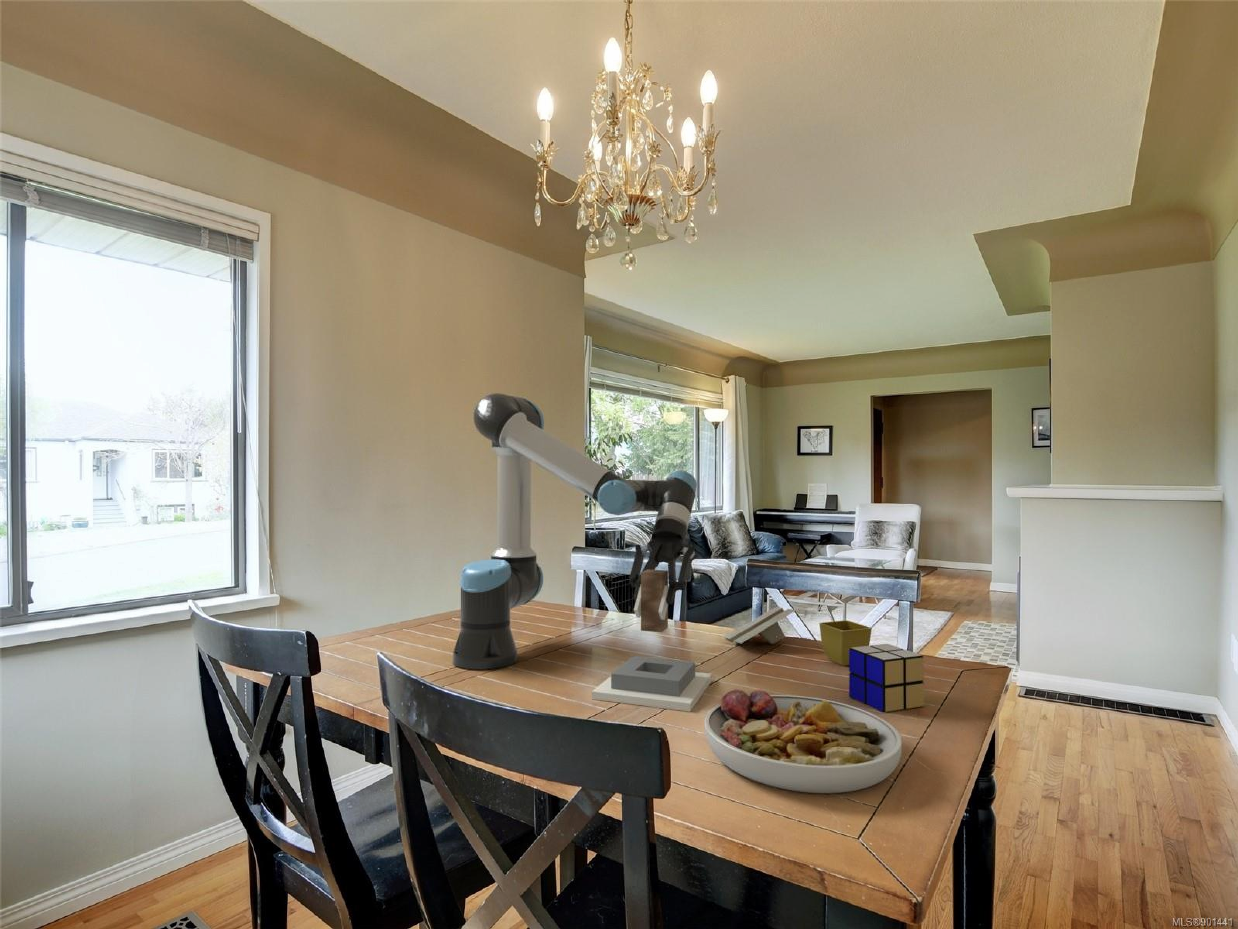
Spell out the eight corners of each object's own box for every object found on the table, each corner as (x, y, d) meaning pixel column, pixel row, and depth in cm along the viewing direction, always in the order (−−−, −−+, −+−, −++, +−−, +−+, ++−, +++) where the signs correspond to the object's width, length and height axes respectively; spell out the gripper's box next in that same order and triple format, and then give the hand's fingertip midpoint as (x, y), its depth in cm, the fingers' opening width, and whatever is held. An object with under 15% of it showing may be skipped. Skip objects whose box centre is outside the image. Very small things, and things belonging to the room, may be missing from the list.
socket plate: (591, 699, 131) (591, 676, 131) (625, 671, 150) (625, 651, 150) (690, 711, 124) (690, 687, 124) (711, 680, 143) (711, 660, 143)
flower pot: (872, 666, 155) (872, 627, 155) (843, 669, 152) (843, 630, 152) (847, 656, 163) (847, 620, 163) (818, 660, 160) (818, 622, 160)
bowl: (928, 755, 106) (928, 705, 106) (854, 828, 84) (854, 766, 84) (763, 710, 126) (763, 668, 126) (667, 760, 104) (667, 709, 104)
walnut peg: (640, 630, 136) (641, 572, 136) (647, 626, 140) (647, 569, 140) (661, 632, 134) (661, 573, 135) (667, 627, 139) (667, 570, 139)
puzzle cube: (848, 697, 133) (847, 647, 134) (887, 691, 137) (887, 643, 137) (884, 714, 124) (883, 660, 124) (925, 707, 127) (925, 655, 128)
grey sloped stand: (766, 673, 164) (814, 626, 167) (739, 643, 165) (787, 597, 168) (747, 664, 182) (790, 622, 185) (723, 637, 183) (766, 595, 186)
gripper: (711, 539, 149) (694, 628, 133) (637, 536, 155) (613, 621, 139) (706, 517, 144) (688, 607, 128) (630, 515, 150) (604, 601, 134)
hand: (649, 614), depth 134 cm, fingers closed on walnut peg, 4 cm apart
